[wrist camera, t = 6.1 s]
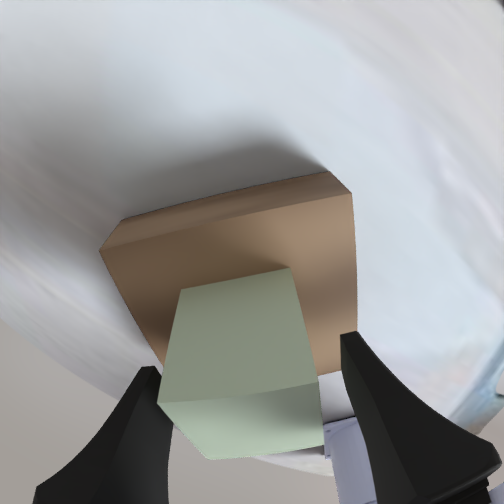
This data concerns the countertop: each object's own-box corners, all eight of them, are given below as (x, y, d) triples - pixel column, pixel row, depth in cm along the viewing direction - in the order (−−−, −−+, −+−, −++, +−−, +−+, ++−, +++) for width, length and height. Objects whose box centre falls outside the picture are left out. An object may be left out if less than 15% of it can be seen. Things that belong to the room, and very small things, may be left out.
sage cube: (303, 343, 14) (324, 444, 10) (213, 359, 15) (207, 459, 10) (290, 267, 12) (318, 381, 7) (181, 289, 12) (156, 402, 8)
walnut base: (343, 330, 18) (356, 366, 16) (188, 358, 19) (183, 396, 16) (329, 171, 13) (351, 193, 11) (121, 220, 14) (98, 250, 11)
